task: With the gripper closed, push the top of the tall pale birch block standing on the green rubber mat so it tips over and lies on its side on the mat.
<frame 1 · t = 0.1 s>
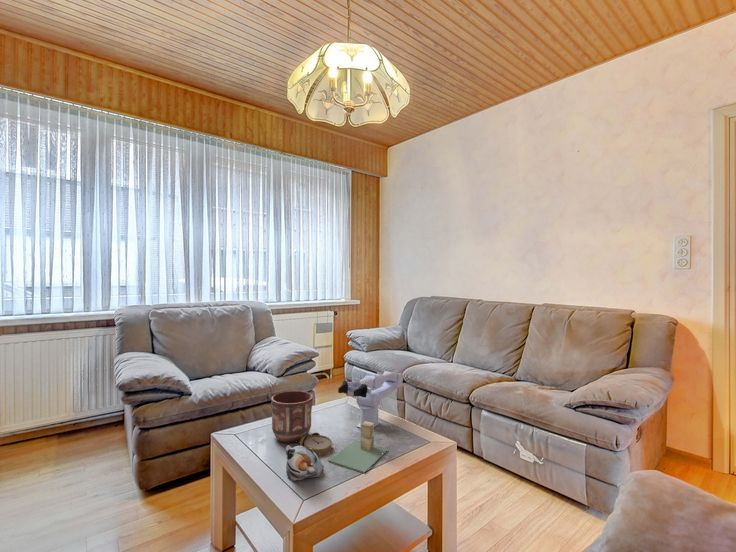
hand: (346, 392, 154), 22 cm above the table, tool horizontal, fingers open, 7 cm apart
pottery: (292, 437, 159), on the table
rubber mat: (359, 455, 143), on the table
birch block: (367, 448, 149), point 1 cm above the table, touching rubber mat
lucky cat figurine: (304, 476, 129), on the table
alarm clock: (315, 449, 149), on the table
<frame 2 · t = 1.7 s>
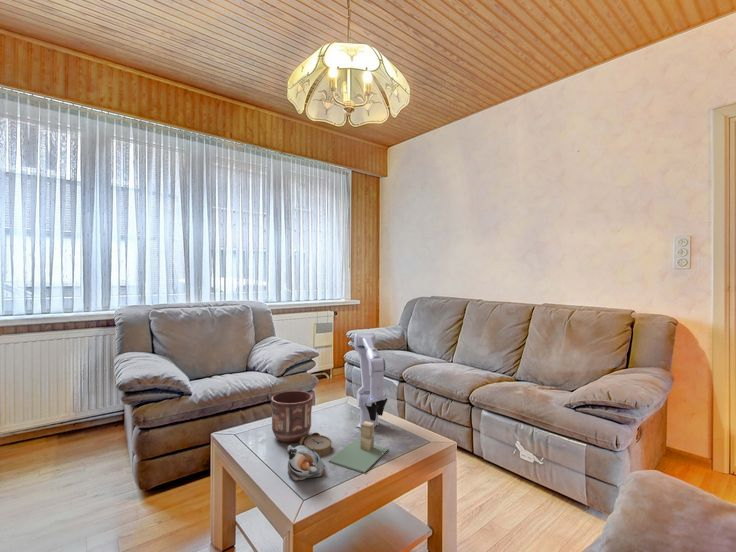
hand: (376, 417, 156), 10 cm above the table, tool pointing down, fingers open, 6 cm apart
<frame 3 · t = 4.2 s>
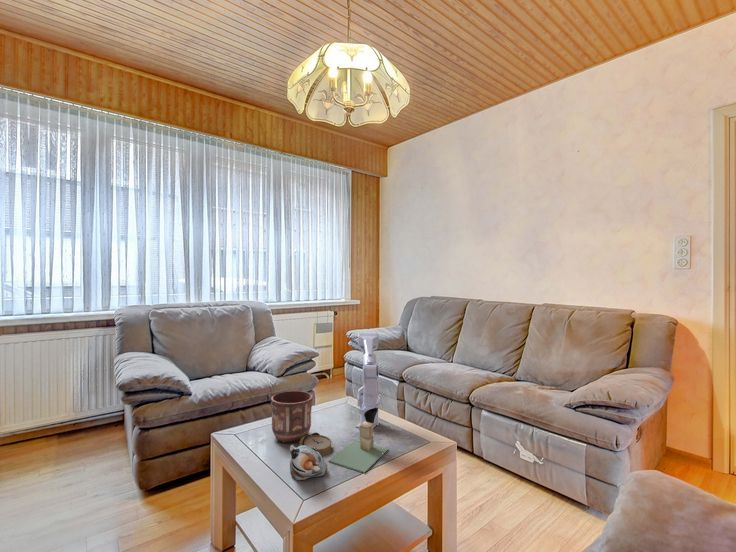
hand: (369, 425, 150), 9 cm above the table, tool pointing down, fingers closed
birch block: (367, 447, 149), point 1 cm above the table, tilted 6°, touching gripper, rubber mat
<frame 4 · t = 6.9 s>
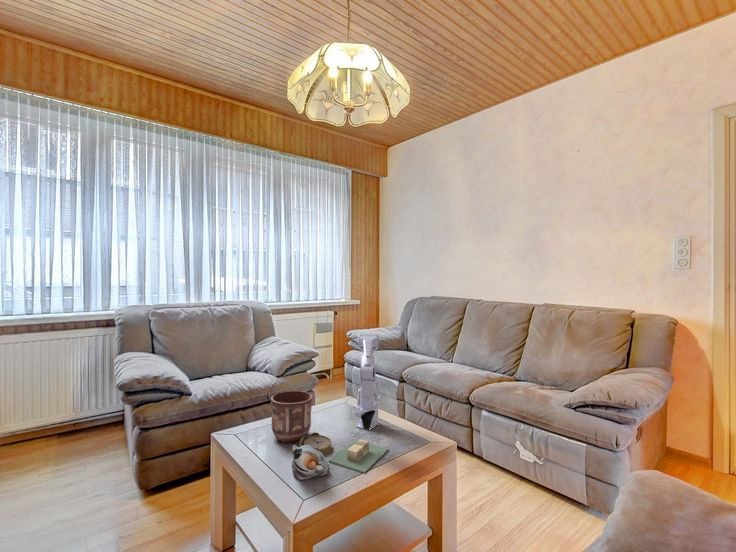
hand: (366, 428, 148), 9 cm above the table, tool pointing down, fingers closed
birch block: (364, 445, 147), point 3 cm above the table, tilted 90°, touching rubber mat
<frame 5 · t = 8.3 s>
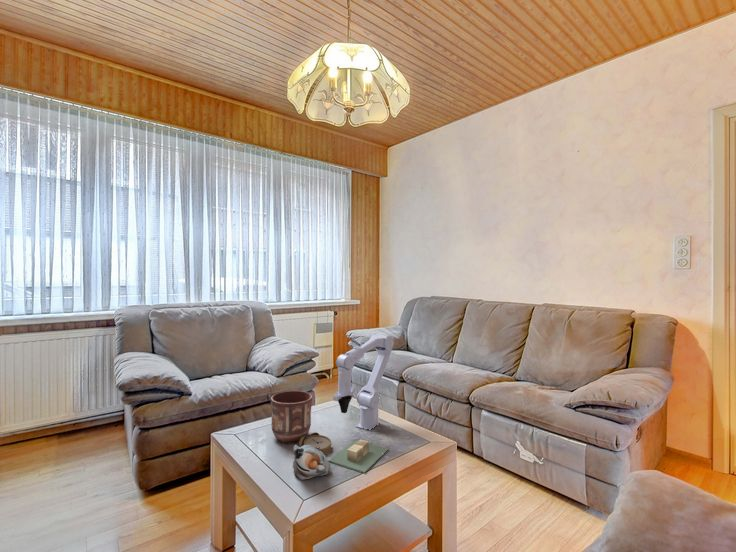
hand: (343, 412, 161), 10 cm above the table, tool pointing down, fingers closed
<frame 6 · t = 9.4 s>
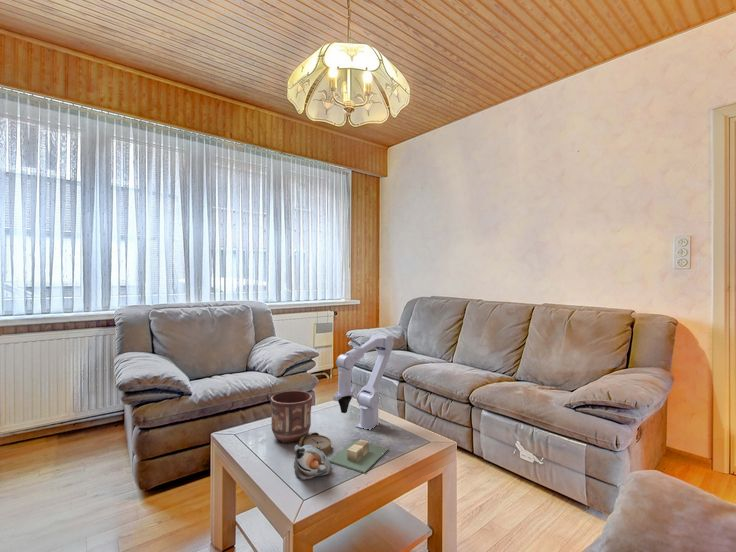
hand: (343, 412, 161), 10 cm above the table, tool pointing down, fingers closed
at the end: birch block tilted 90°; birch block inside the target area (4.0 cm from its centre), point 2.6 cm above the table; birch block touching rubber mat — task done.
